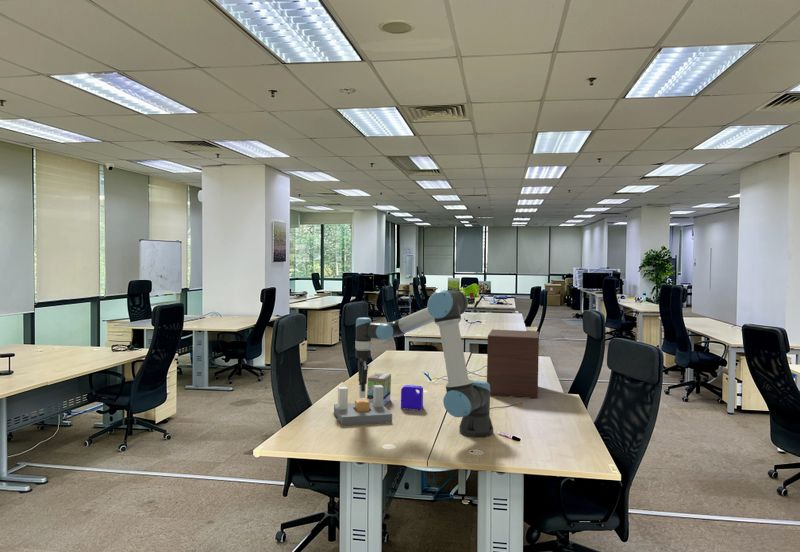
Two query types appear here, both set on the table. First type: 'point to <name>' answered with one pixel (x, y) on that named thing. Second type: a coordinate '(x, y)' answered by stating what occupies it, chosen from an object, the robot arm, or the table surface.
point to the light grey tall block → (378, 395)
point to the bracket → (412, 397)
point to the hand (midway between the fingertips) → (362, 397)
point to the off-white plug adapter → (342, 397)
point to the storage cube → (513, 363)
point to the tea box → (379, 380)
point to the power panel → (362, 415)
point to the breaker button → (362, 405)
